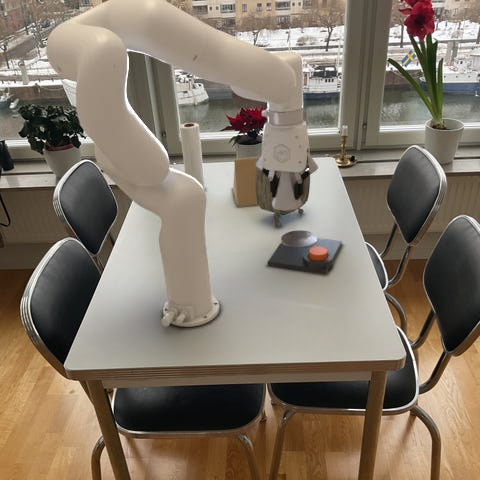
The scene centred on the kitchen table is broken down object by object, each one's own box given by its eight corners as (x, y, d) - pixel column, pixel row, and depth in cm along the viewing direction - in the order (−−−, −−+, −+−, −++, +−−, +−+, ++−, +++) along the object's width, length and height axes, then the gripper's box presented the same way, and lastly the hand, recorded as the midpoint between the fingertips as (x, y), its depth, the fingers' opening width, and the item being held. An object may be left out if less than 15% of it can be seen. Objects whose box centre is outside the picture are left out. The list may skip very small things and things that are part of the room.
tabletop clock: (278, 231, 150) (277, 141, 136) (254, 223, 155) (250, 136, 141) (309, 213, 159) (311, 127, 144) (285, 206, 164) (284, 122, 149)
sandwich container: (257, 186, 179) (256, 141, 170) (264, 204, 166) (263, 156, 157) (232, 188, 178) (229, 143, 169) (237, 207, 166) (234, 159, 157)
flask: (300, 212, 123) (300, 169, 117) (269, 211, 124) (267, 169, 119) (303, 199, 129) (304, 158, 123) (274, 198, 130) (272, 158, 124)
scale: (328, 275, 129) (329, 264, 127) (267, 266, 134) (267, 256, 132) (344, 245, 141) (344, 235, 139) (287, 238, 146) (287, 228, 144)
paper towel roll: (194, 185, 182) (188, 121, 170) (208, 188, 179) (202, 123, 167) (181, 192, 178) (172, 127, 165) (195, 196, 175) (187, 129, 162)
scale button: (324, 262, 129) (324, 256, 128) (307, 260, 130) (307, 253, 129) (329, 254, 132) (329, 247, 131) (312, 251, 134) (312, 245, 133)
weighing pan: (311, 250, 134) (311, 248, 133) (276, 245, 137) (276, 244, 137) (321, 234, 141) (321, 232, 140) (287, 229, 144) (287, 228, 144)
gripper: (242, 119, 115) (247, 199, 126) (319, 123, 109) (317, 206, 120) (254, 110, 120) (258, 187, 131) (328, 113, 114) (326, 193, 125)
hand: (286, 195), depth 125 cm, fingers closed on flask, 4 cm apart
